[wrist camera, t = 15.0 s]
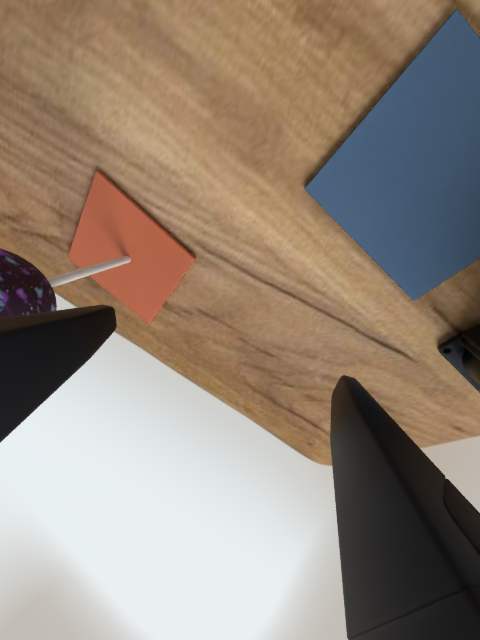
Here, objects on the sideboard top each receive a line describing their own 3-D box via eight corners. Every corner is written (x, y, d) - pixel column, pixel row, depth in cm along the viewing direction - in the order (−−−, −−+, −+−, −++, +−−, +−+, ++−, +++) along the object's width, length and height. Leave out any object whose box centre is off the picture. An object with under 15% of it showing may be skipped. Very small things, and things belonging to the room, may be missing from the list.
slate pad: (584, 184, 13) (593, 184, 13) (411, 298, 18) (414, 301, 18) (452, 14, 12) (457, 7, 11) (304, 189, 17) (304, 188, 16)
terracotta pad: (196, 257, 21) (194, 259, 21) (150, 322, 26) (148, 324, 26) (100, 171, 20) (95, 170, 19) (71, 256, 25) (67, 257, 24)
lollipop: (166, 242, 21) (-70, 306, 8) (151, 303, 24) (-29, 416, 11) (100, 208, 21) (-238, 214, 8) (95, 272, 24) (-146, 350, 11)
